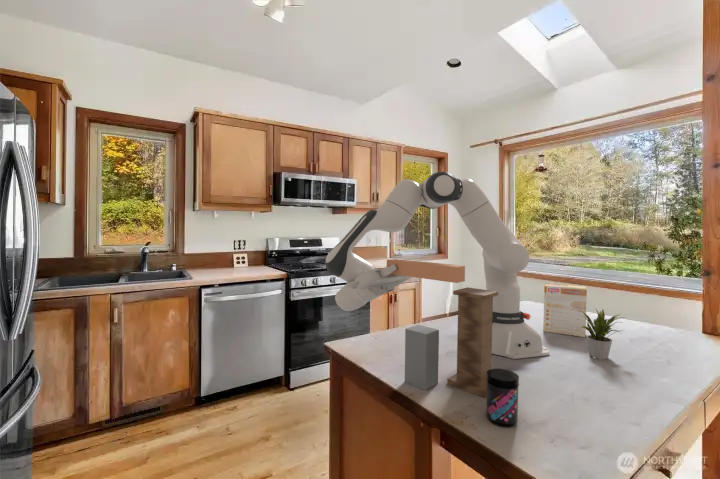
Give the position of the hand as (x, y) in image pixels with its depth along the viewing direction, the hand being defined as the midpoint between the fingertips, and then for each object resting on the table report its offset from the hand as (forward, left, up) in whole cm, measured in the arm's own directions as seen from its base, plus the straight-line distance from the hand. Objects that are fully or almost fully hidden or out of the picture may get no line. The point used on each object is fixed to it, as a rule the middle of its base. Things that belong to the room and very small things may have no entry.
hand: (402, 265), depth 102 cm
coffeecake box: (-76, -37, -32) cm, 90 cm away
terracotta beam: (-5, +6, -2) cm, 8 cm away
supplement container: (-18, +25, -32) cm, 45 cm away
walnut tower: (-19, +8, -32) cm, 38 cm away
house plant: (-70, -9, -32) cm, 78 cm away
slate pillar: (-5, +6, -32) cm, 33 cm away
